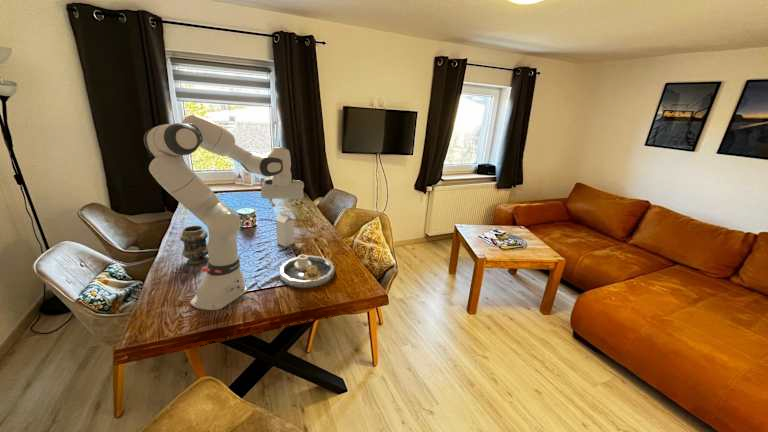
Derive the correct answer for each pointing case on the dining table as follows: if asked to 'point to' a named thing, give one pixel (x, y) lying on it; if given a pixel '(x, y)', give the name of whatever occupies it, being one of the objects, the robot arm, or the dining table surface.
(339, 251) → the dining table surface
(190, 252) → the apothecary jar
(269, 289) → the dining table surface
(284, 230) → the milk carton
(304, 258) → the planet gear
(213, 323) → the dining table surface
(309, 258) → the grey round tray
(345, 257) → the dining table surface
